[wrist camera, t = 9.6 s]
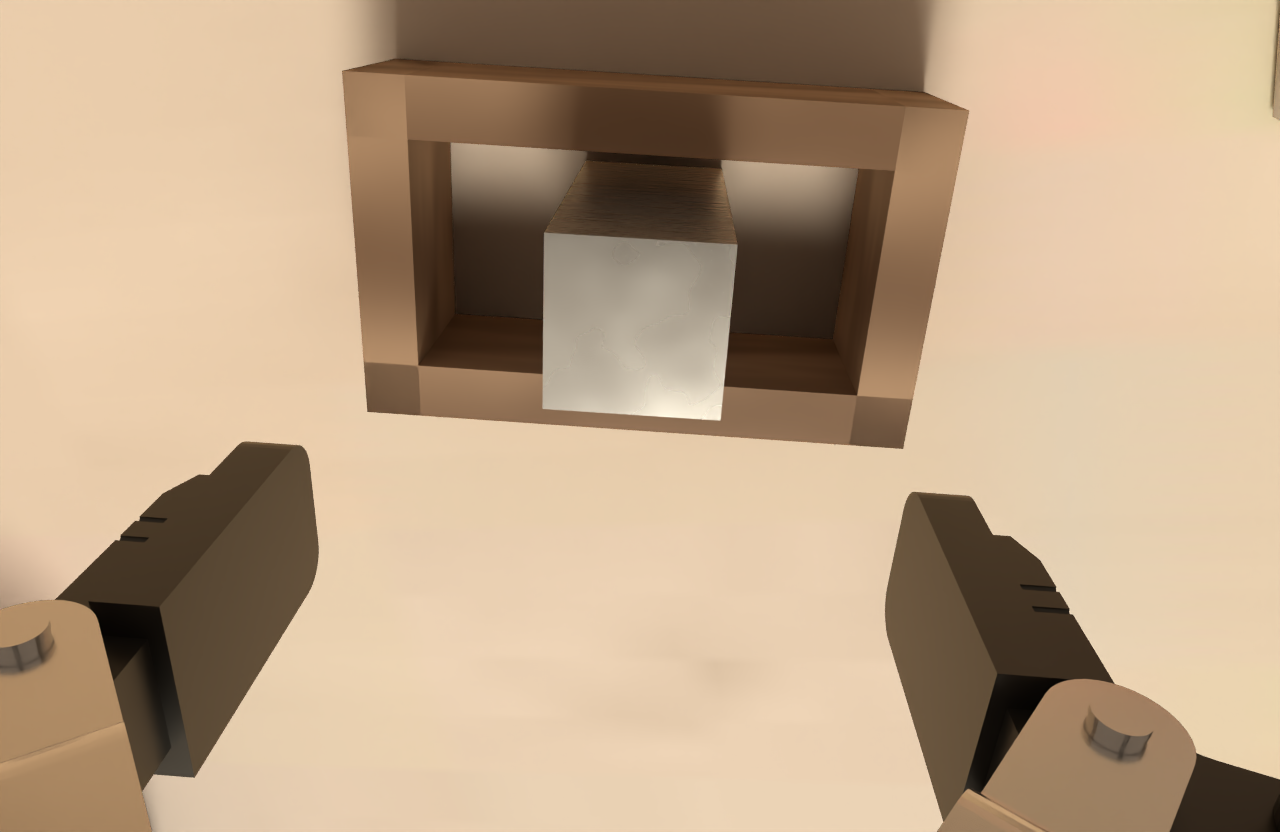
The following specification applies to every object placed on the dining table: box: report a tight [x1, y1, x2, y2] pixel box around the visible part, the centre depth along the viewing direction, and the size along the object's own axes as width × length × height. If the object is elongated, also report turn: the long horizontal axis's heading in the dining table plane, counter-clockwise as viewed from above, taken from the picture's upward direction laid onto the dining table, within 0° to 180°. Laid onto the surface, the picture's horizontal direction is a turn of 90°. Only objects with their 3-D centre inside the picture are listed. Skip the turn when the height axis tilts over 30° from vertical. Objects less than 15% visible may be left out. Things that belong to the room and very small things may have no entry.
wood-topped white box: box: [542, 161, 738, 421], centre depth 24 cm, size 4×4×9 cm
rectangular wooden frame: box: [342, 59, 969, 449], centre depth 26 cm, size 9×15×4 cm, turn 87°
